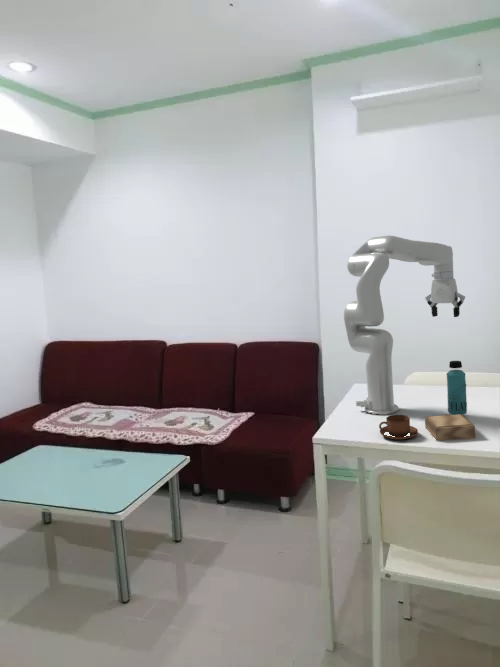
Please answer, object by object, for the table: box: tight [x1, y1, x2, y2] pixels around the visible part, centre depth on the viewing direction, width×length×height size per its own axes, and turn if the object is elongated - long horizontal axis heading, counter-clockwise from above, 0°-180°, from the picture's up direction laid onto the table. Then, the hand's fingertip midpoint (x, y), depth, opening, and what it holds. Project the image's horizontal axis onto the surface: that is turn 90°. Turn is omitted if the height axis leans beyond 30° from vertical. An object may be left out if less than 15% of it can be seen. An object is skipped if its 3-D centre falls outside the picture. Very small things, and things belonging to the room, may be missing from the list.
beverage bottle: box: [446, 360, 468, 416], centre depth 181 cm, size 6×7×20 cm
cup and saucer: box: [378, 414, 418, 441], centre depth 168 cm, size 12×12×6 cm
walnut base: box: [424, 414, 476, 441], centre depth 166 cm, size 12×12×4 cm
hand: (445, 316), depth 217 cm, fingers open, 9 cm apart
